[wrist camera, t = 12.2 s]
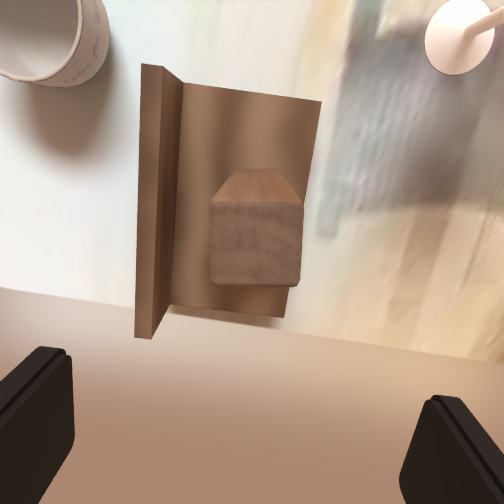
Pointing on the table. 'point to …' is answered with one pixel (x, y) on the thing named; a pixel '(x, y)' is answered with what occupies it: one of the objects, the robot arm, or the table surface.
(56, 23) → the teacup
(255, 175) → the wooden block
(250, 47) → the table surface
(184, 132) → the walnut shelf
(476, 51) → the champagne flute
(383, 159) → the table surface
